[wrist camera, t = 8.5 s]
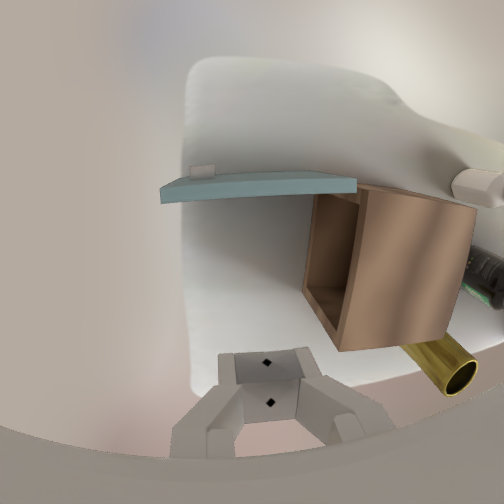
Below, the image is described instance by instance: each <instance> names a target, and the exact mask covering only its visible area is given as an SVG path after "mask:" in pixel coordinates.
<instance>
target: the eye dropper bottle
mask: <svg viewBox="0 0 504 504" xmlns="http://www.w3.org/2000/svg"><path fill="white" fill-rule="evenodd" d="M451 188H452V192H453V195H454V197H455V198H456V199H459V200H462V201H466V202H470V203H473V204H477V205H481V206H484V207H488V208H498V207H501V206H503V205H504V174H501V173H496V172H490V171H484V170H477V169H466V170H463V171H461V172H460V173H459V174H458V175H457V176H456V177H455V178H454V180H453V181H452V183H451Z"/></svg>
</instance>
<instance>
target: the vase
mask: <svg viewBox="0 0 504 504" xmlns="http://www.w3.org/2000/svg"><path fill="white" fill-rule="evenodd" d="M399 346H400V347H401V348H402V349H403V350H404V351H405V352H406V353H407V354H408V355H409V356H410V357H411V358H412V359H413V360H414V361H415V362H416V363H417V364H418V365H419V367H420V368H421V369H422V370H423V371H424V373H425V374H426V375H427V376H428V377H429V378H430V379H431V381H432V382H433V383H434V384H435V385H436V386H437V387H438V389H439V390H440V391H441V393H442V394H443V395H444V396H446V397H452V396H455V395H457V394H459V393H460V392H461V391H463V390H464V389H465V388H466V387H467V386H468V385H469V384H470V383H471V381H472V380H473V378H474V376H475V375H476V372H477V369H478V361H477V360H476V359H475V358H474V357H473V356H472V355H471V354H470V353H468V352H467V351H466V350H465V349H464V348H463V347H462V346H461V345H460V344H459V343H458V342H456V341H455V340H454V339H453V338H452V337H451V336H450V335H449V334H448V333H447V332H445V335H444V338H443V339H438V340H433V341H426V342H420V343H413V344H406V345H399Z"/></svg>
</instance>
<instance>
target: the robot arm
mask: <svg viewBox="0 0 504 504" xmlns="http://www.w3.org/2000/svg"><path fill="white" fill-rule="evenodd" d="M218 380H219V385H216V386H213V387H212V388H211V389H210V391H209V392H208V393H207V394H206V395H205V396H204V397H203V398H202V399H201V400H200V401H199V402H198V403H197V404H196V405H195V406H194V407H193V408H192V409H191V410H190V411H189V412H188V413H187V414H186V415H185V416H184V417H183V418H182V419H181V420H180V421H179V422H178V423H177V424H176V425H175V426H174V427H173V429H172V438H171V446H170V456H169V458H161V457H147V456H135V455H126V454H118V453H110V452H103V451H97V450H91V449H85V448H80V447H74V446H70V445H66V444H61V443H57V442H53V441H49V440H45V439H41V438H37V437H34V436H30V435H26V434H24V433H20V432H17V431H14V430H11V429H8V428H5V427H2V426H0V504H504V382H503V383H501V384H499V385H497V386H496V387H494V388H492V389H490V390H488V391H486V392H484V393H482V394H480V395H478V396H476V397H474V398H472V399H469V400H467V401H465V402H463V403H461V404H458V405H456V406H454V407H452V408H449V409H447V410H445V411H442V412H439V413H437V414H435V415H432V416H429V417H427V418H424V419H421V420H419V421H416V422H413V423H410V424H407V425H404V426H401V427H398V428H396V426H395V425H394V423H393V421H392V420H391V418H390V417H389V415H388V413H387V411H386V410H385V408H384V407H383V405H382V404H381V403H379V402H376V401H375V400H372V399H371V398H369V397H366V396H365V395H363V394H361V393H359V392H357V391H355V390H353V389H351V388H349V387H347V386H346V385H344V384H342V383H340V382H338V381H336V380H334V379H332V378H331V377H329V376H327V375H324V376H322V374H321V372H320V370H319V368H318V366H317V364H316V362H315V359H314V357H313V355H312V353H311V351H310V349H309V348H308V347H302V348H295V349H290V350H280V351H269V352H248V353H234V354H233V353H224V354H218ZM288 419H296V420H297V421H298V422H299V423H300V424H301V425H302V426H304V427H305V428H306V429H307V430H308V431H310V432H311V433H312V434H313V435H314V436H315V437H317V438H318V439H319V440H320V441H321V442H323V443H324V444H325V445H326V446H324V447H318V448H312V449H307V450H300V451H294V452H287V453H279V454H271V455H261V456H249V457H235V447H234V441H235V439H236V438H237V436H238V434H239V433H240V431H241V430H242V428H243V426H244V424H248V423H258V422H267V421H278V420H288Z"/></svg>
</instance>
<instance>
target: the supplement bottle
mask: <svg viewBox="0 0 504 504" xmlns="http://www.w3.org/2000/svg"><path fill="white" fill-rule="evenodd" d="M460 288H462V289H463V290H465V291H466V292H468V293H469V294H471V295H472V296H474V297H475V298H477V299H478V300H480V301H481V302H483V303H484V304H486V305H487V306H489V307H490V308H492V309H494V310H496V311H501V310H504V259H503V258H501V257H499V256H497V255H495V254H493V253H491V252H489V251H486V250H484V249H482V248H479V247H476V246H474V247H470V250H469V255H468V259H467V263H466V267H465V271H464V275H463V279H462V282H461V286H460Z"/></svg>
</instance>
